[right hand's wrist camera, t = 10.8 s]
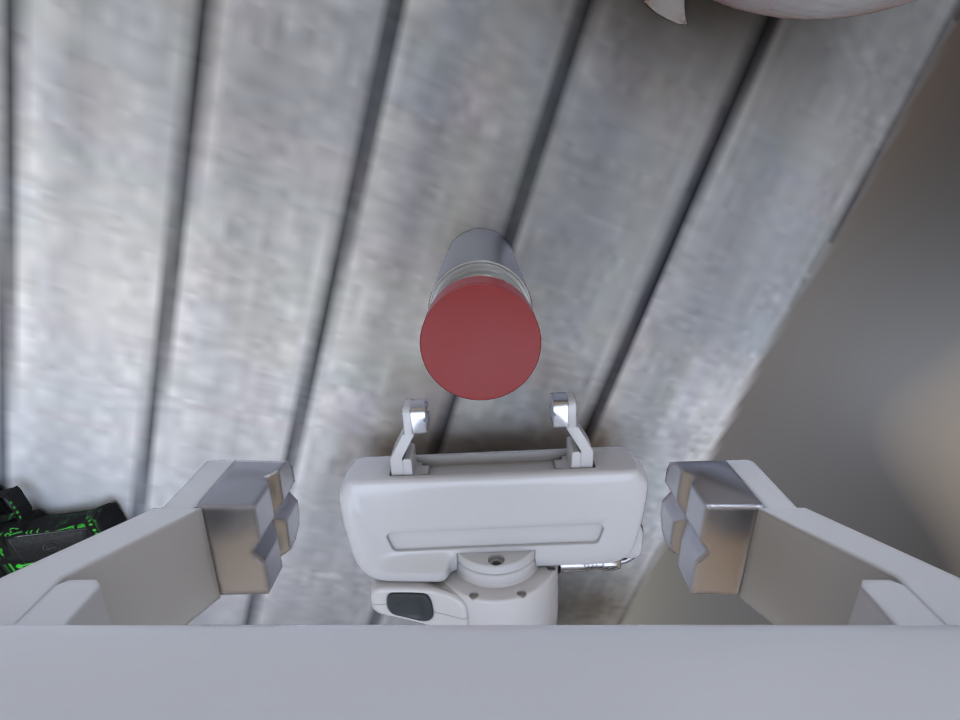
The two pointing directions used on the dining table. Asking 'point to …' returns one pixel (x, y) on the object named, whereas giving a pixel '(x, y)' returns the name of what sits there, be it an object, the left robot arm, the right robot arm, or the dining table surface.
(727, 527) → the right robot arm
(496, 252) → the bottle
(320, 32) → the dining table surface
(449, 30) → the dining table surface
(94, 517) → the handgun
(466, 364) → the cap
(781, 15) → the plush toy
